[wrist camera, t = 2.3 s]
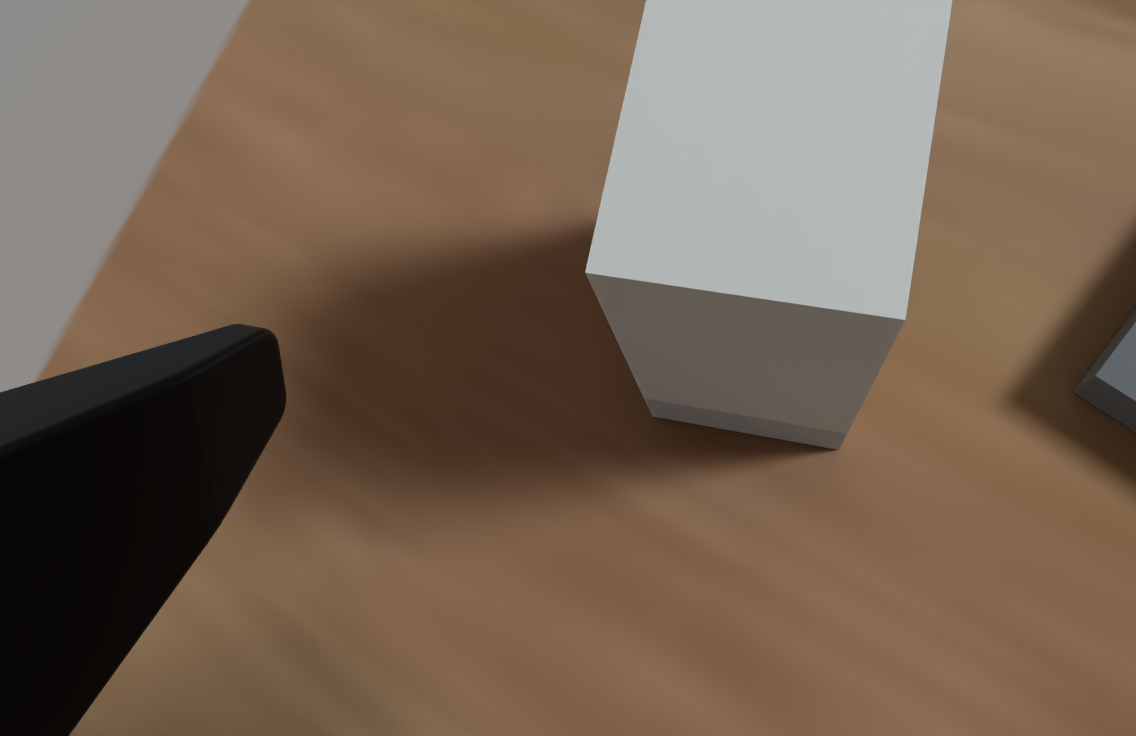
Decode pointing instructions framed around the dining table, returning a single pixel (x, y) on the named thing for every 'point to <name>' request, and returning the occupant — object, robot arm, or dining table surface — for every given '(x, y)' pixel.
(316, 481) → the dining table surface
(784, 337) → the white rectangular block
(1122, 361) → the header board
